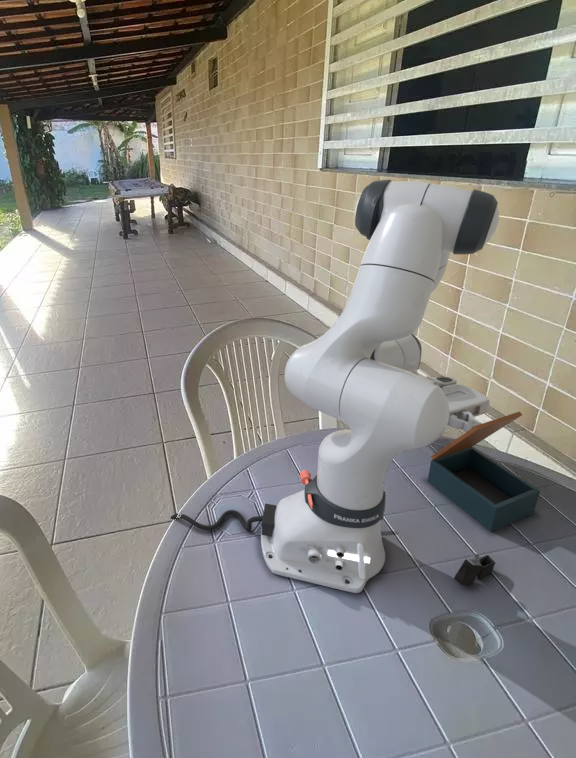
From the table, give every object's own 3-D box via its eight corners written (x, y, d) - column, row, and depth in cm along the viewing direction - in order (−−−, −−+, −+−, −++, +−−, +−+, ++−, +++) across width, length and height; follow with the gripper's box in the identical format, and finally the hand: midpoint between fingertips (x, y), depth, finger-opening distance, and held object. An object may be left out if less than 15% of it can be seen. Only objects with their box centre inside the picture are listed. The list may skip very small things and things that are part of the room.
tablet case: (533, 513, 84) (540, 490, 81) (490, 531, 80) (496, 508, 78) (466, 467, 97) (471, 446, 94) (427, 481, 93) (431, 460, 91)
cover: (522, 414, 82) (519, 411, 83) (478, 429, 79) (475, 425, 79) (472, 446, 94) (470, 442, 95) (432, 460, 91) (430, 456, 91)
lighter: (471, 576, 75) (486, 552, 74) (483, 586, 73) (498, 561, 72) (449, 575, 71) (465, 549, 70) (461, 585, 69) (477, 558, 68)
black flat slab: (519, 506, 84) (520, 503, 84) (489, 519, 82) (490, 516, 82) (468, 471, 94) (469, 468, 94) (440, 481, 92) (440, 478, 92)
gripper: (386, 394, 94) (439, 428, 82) (456, 375, 100) (515, 404, 87) (383, 418, 96) (434, 455, 84) (452, 398, 102) (509, 429, 90)
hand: (476, 428), depth 86 cm, fingers closed
